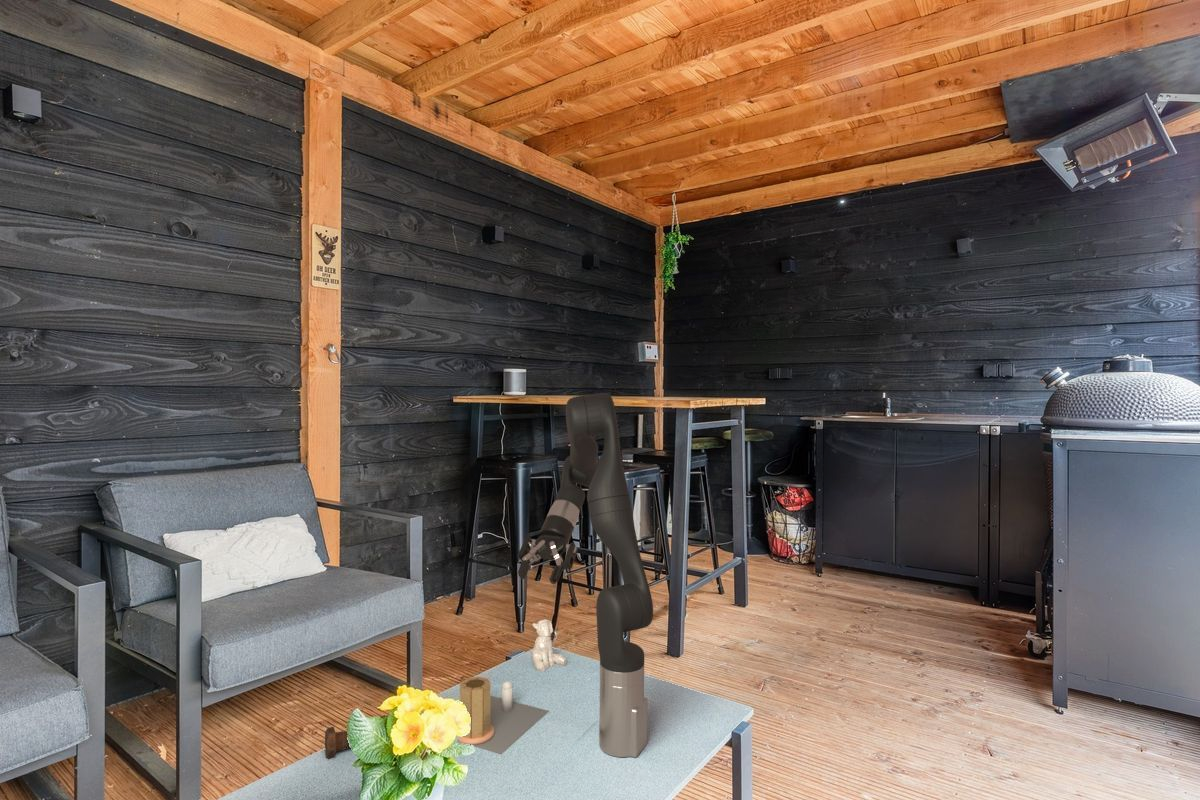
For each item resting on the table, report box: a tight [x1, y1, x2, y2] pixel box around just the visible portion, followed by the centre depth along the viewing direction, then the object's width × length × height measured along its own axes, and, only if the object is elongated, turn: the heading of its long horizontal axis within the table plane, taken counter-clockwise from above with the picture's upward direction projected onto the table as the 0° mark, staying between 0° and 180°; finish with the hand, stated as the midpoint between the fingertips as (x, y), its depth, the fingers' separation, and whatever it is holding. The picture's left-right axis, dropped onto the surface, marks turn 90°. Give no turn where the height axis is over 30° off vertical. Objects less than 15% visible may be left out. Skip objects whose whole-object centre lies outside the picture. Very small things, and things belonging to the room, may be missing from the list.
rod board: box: [457, 680, 550, 755], centre depth 140 cm, size 18×20×8 cm
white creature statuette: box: [530, 618, 568, 673], centre depth 172 cm, size 10×9×12 cm
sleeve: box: [459, 676, 491, 739], centre depth 135 cm, size 6×6×10 cm
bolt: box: [324, 726, 350, 760], centre depth 133 cm, size 6×5×15 cm
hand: (536, 579), depth 152 cm, fingers open, 8 cm apart
